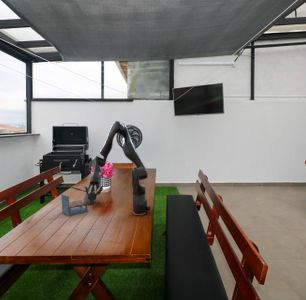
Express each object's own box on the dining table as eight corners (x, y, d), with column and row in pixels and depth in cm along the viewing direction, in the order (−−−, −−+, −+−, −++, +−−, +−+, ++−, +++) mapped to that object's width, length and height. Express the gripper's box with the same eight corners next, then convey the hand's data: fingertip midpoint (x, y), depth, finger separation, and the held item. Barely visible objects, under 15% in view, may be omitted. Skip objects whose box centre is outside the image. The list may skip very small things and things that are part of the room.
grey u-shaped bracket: (81, 207, 199) (80, 190, 198) (87, 211, 191) (86, 192, 190) (62, 212, 190) (61, 193, 188) (68, 215, 181) (67, 196, 180)
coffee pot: (96, 200, 219) (95, 182, 217) (99, 203, 208) (98, 185, 207) (70, 203, 211) (69, 185, 209) (72, 207, 200) (71, 188, 199)
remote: (91, 203, 188) (91, 191, 187) (95, 203, 188) (95, 191, 187) (89, 205, 184) (89, 192, 183) (94, 205, 183) (93, 192, 183)
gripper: (105, 181, 197) (102, 201, 186) (87, 181, 198) (83, 201, 187) (103, 176, 191) (100, 196, 180) (85, 176, 192) (80, 196, 181)
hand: (91, 199), depth 183 cm, fingers closed on remote, 3 cm apart
